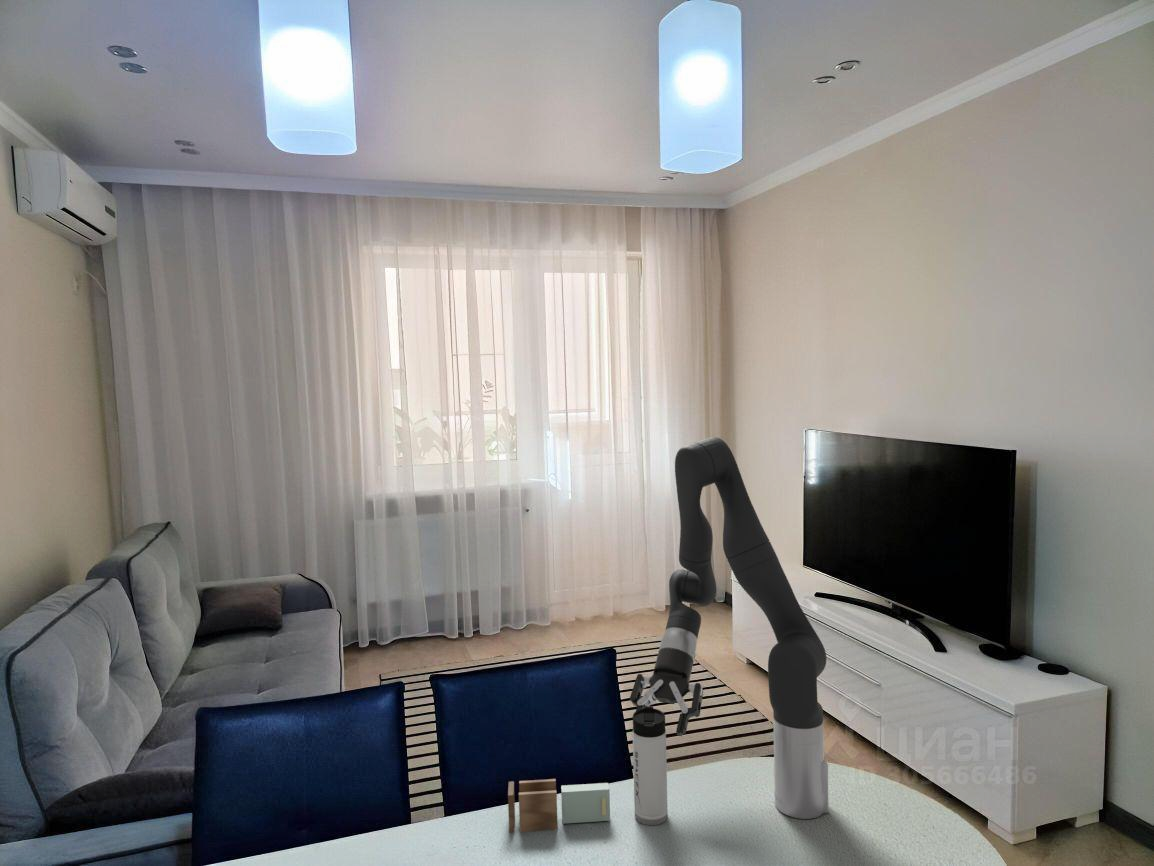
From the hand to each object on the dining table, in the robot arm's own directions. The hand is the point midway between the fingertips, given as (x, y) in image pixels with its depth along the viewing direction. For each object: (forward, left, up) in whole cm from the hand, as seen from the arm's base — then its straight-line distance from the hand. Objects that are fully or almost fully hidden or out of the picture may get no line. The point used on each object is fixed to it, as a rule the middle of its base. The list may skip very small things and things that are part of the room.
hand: (658, 730), depth 144 cm
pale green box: (+15, +5, -14) cm, 21 cm away
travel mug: (+3, +5, -15) cm, 15 cm away
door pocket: (+25, +5, -14) cm, 29 cm away
